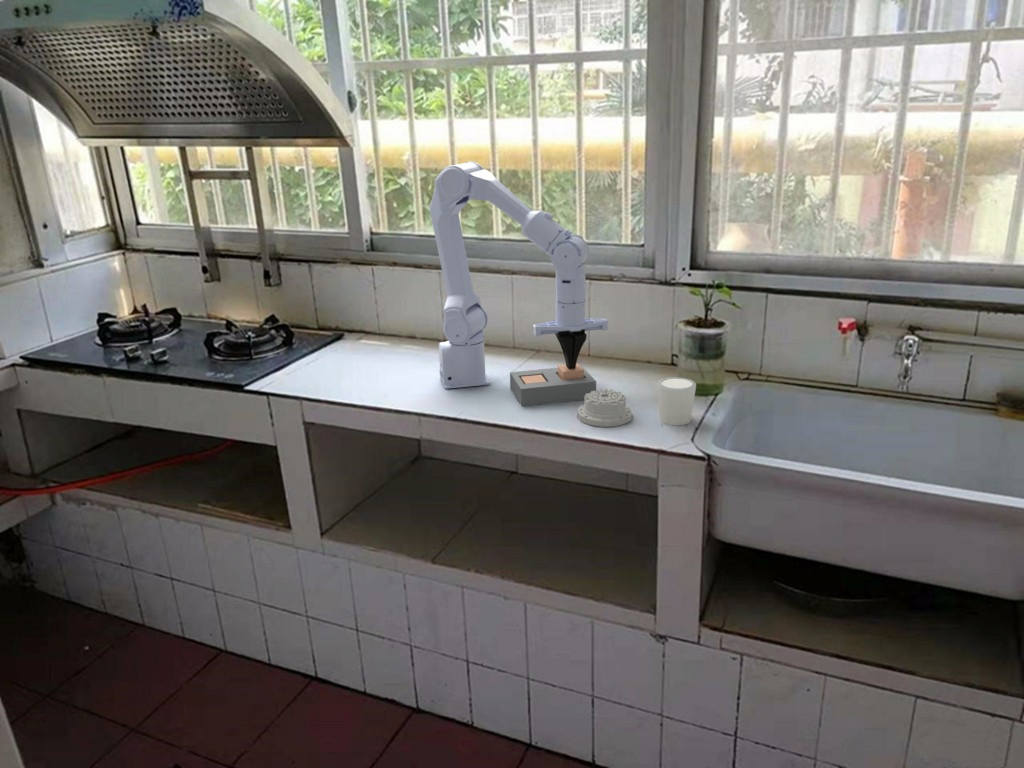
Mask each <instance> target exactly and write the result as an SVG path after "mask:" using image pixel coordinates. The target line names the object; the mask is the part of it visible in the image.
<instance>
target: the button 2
mask: <svg viewBox="0 0 1024 768" xmlns="http://www.w3.org/2000/svg"><path fill="white" fill-rule="evenodd" d="M581 366H582V365H581ZM581 366H580V364H579V363H576V368H575V369H568V368H567V367H566V364H559V365H557V368H558V376H559V377H560V378H561V380H569V379H579V378H584V370H583V369H582V367H583V366H582V367H581Z"/></svg>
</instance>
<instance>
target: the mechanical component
mask: <svg viewBox="0 0 1024 768" xmlns="http://www.w3.org/2000/svg"><path fill="white" fill-rule="evenodd" d="M583 400H584V401H583V404H582V405H581V406H579V407H578V409H577V418H578V420H579V421H580V422H582V423H584V424H586V425H588V426H589V425H590V426H594V427H601V428H603V427H605V428H606V427H607V428H611V427H617V426H618V427H619V426H622V425H626V424H627V423H629V422H630V421H632V419H633V409H632V408H631V407H630V406H628V405H626V404H627V402H626V400H627V397H626V395H625V394H623V393H622V392H621V391H616V390H613V389H601V388H600V389H598V390H596V391H591V393H589V394H588V393H587V394H586V395H585V399H583Z"/></svg>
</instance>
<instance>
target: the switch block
mask: <svg viewBox="0 0 1024 768" xmlns="http://www.w3.org/2000/svg"><path fill="white" fill-rule="evenodd" d="M579 365H580V364H579ZM580 366H581V367H582V369H583V370H584V378H579V379H569V380H561V378H560V377H559V376H558V367H551V368H549V367H548V368H541V369H540V368H539V369H529V370H521V371H520V370H519V371H510V372H509V386H510V387H509V388H510V391H511V392H512V394H513V395H514V397H515V399H516V400H517V402H518V403H519V404H520V406H521V407H525V406H535V405H543V404H545V405H546V404H552V403H553V404H554V403H563V402H572V401H574V402H575V401H581V400H585V395H586V394H587V393H588V394H589V393H591V391H597V380H595V378H594V377H593V376H592V375H591V373H589V372H588V371H587V369H585V367H583V365H580ZM533 375H542V376H543V378H544V379H545V380H546V382H539V383H529V384H524V383H523V382H522V380H521V377H523V376H533Z"/></svg>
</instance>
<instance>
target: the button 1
mask: <svg viewBox="0 0 1024 768" xmlns="http://www.w3.org/2000/svg"><path fill="white" fill-rule="evenodd" d="M521 380H522V382H523V383H524V384H529V383H539V382H546V380H545V379H544V378H543V376H542V375H533V376H523V377H521Z"/></svg>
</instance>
